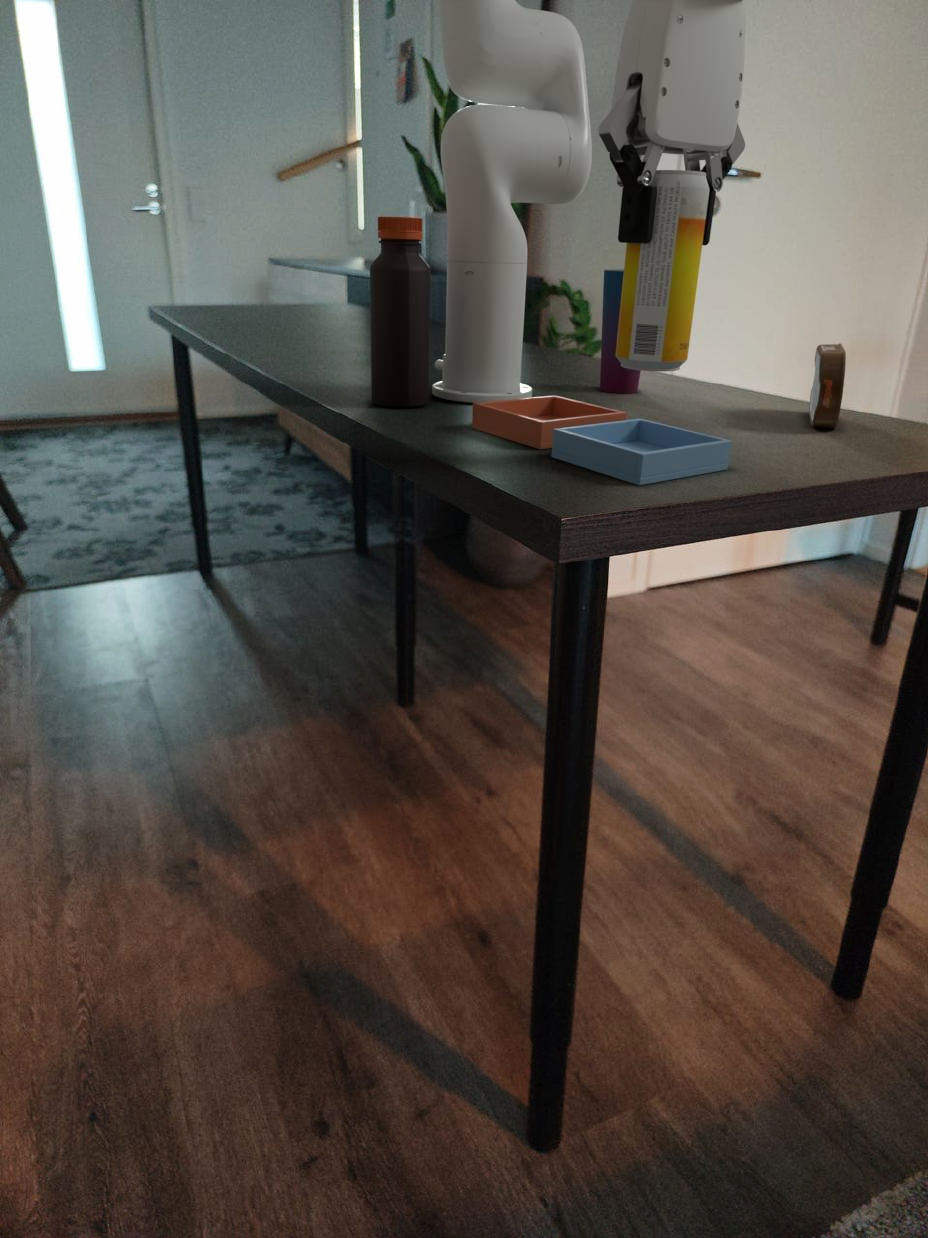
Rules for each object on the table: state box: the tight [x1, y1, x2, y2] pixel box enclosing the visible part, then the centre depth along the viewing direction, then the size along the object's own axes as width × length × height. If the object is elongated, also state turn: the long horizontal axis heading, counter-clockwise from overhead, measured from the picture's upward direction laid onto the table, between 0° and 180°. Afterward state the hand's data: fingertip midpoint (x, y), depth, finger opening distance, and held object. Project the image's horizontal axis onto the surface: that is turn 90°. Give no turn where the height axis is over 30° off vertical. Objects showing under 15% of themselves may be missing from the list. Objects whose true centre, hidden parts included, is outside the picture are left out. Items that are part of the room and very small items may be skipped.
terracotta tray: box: [471, 394, 628, 451], centre depth 88 cm, size 11×11×3 cm
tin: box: [808, 342, 847, 430], centre depth 97 cm, size 15×3×8 cm, turn 161°
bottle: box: [369, 216, 432, 409], centre depth 97 cm, size 7×7×20 cm
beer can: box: [616, 169, 710, 372], centre depth 71 cm, size 6×6×15 cm
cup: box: [599, 268, 642, 394], centre depth 112 cm, size 7×7×15 cm
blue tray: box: [550, 418, 733, 486], centre depth 77 cm, size 11×11×3 cm
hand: (663, 241), depth 70 cm, fingers closed on beer can, 6 cm apart
